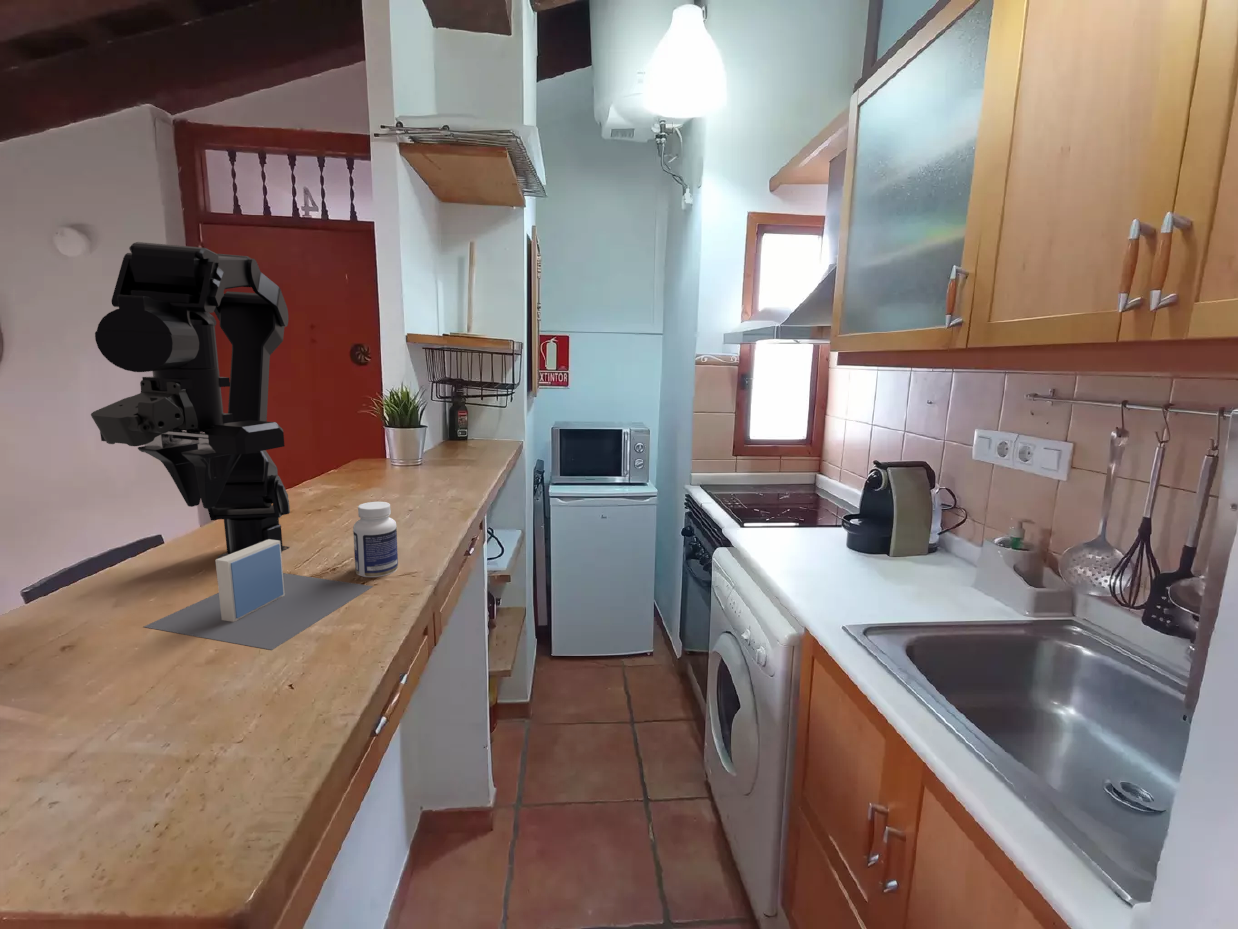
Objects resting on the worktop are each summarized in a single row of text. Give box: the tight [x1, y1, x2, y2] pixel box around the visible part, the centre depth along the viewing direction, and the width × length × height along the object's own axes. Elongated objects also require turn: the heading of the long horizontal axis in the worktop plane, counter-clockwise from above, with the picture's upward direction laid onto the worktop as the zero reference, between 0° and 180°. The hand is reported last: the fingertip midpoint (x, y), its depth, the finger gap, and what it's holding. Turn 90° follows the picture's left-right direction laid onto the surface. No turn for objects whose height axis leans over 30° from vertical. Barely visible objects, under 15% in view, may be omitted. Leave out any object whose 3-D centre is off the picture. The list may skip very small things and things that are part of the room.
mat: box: [143, 572, 374, 651], centre depth 65 cm, size 16×16×1 cm
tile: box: [215, 539, 285, 622], centre depth 63 cm, size 2×7×7 cm, turn 168°
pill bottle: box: [352, 501, 399, 578], centre depth 75 cm, size 5×5×10 cm
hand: (201, 506), depth 63 cm, fingers closed
